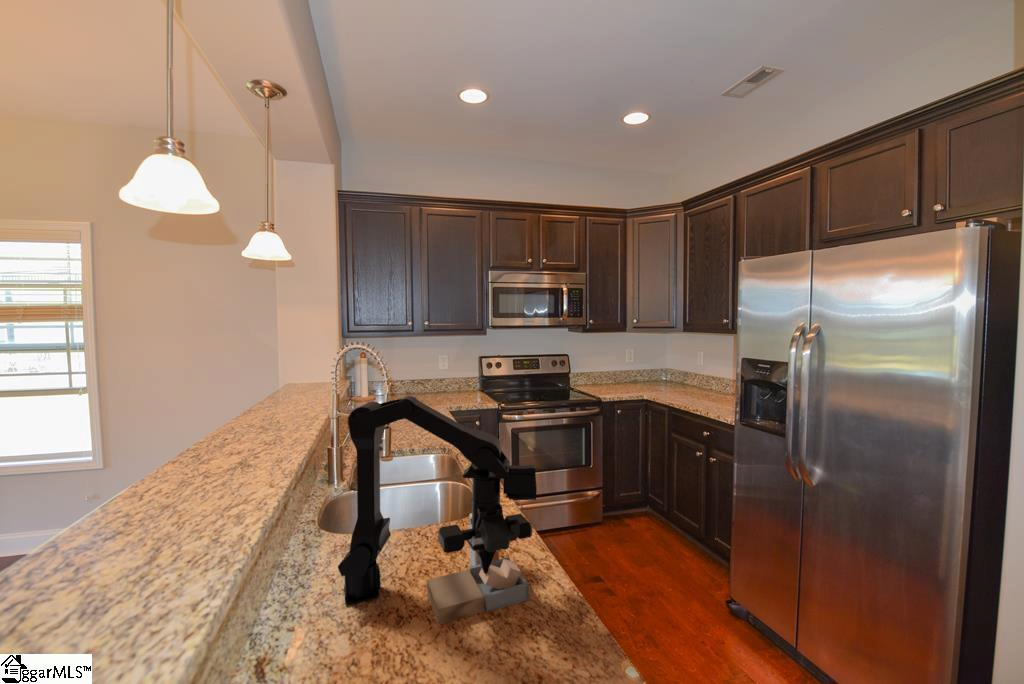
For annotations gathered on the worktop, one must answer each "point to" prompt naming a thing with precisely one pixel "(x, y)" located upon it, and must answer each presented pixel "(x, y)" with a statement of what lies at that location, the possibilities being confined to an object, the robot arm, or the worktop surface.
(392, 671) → the worktop surface
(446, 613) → the board
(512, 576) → the tile
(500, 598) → the tray
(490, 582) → the tile
